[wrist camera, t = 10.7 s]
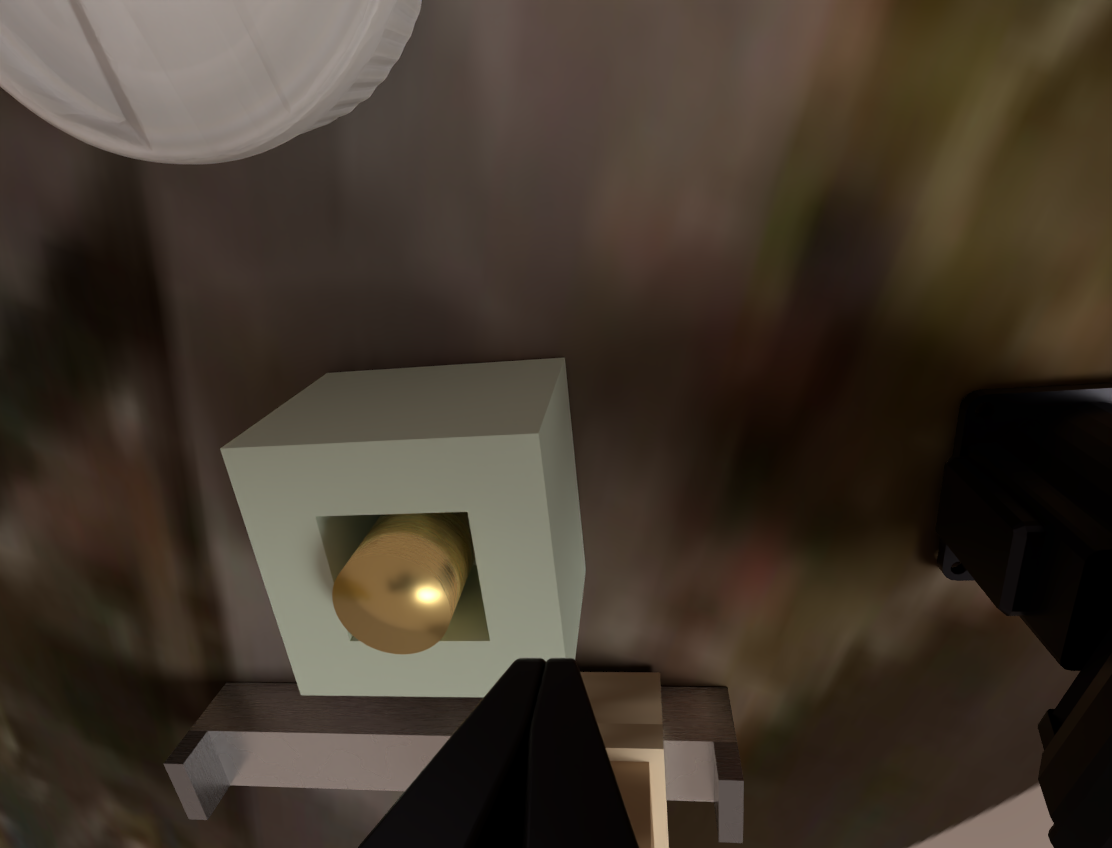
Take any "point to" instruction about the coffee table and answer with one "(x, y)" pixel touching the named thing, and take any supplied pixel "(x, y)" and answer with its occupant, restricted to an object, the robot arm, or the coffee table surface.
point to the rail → (413, 745)
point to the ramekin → (197, 69)
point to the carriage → (634, 746)
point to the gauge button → (405, 580)
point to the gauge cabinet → (419, 487)
